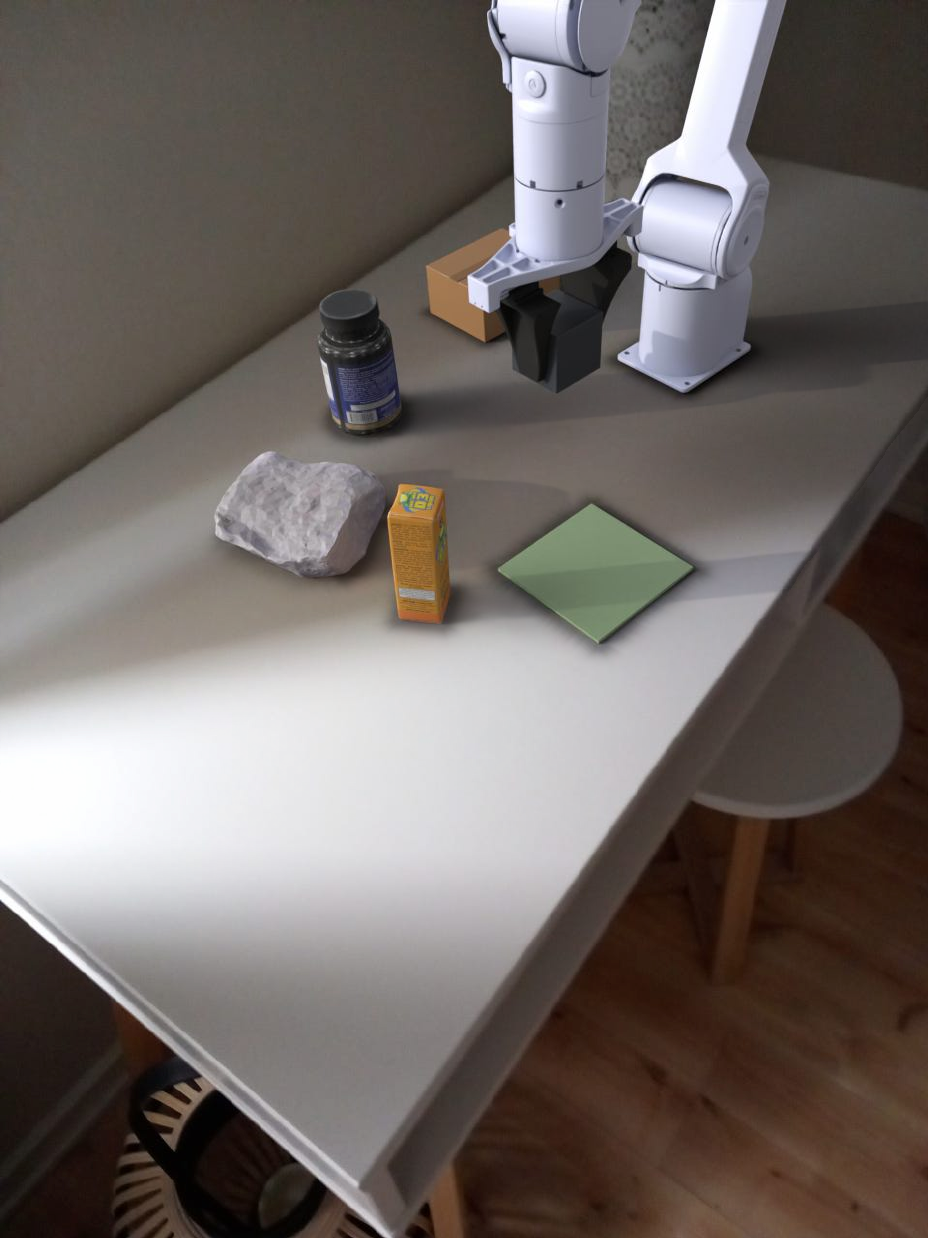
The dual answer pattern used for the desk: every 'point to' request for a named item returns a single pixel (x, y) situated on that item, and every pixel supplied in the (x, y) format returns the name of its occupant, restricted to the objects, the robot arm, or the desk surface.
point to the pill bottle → (358, 363)
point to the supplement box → (420, 553)
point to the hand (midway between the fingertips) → (557, 360)
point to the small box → (571, 343)
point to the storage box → (452, 286)
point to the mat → (595, 571)
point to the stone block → (302, 513)
